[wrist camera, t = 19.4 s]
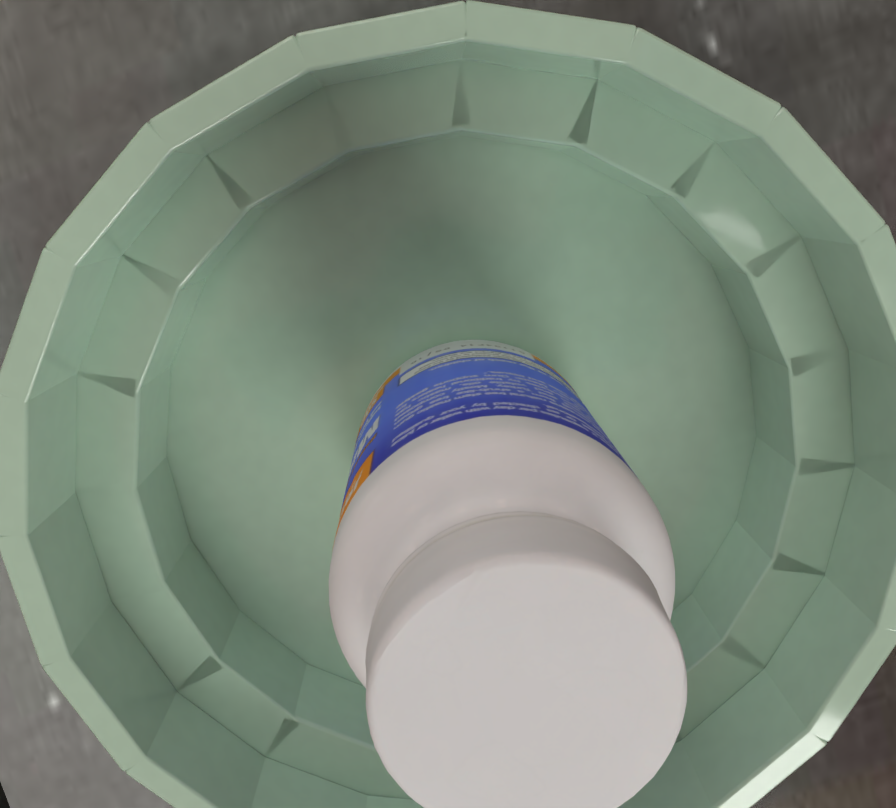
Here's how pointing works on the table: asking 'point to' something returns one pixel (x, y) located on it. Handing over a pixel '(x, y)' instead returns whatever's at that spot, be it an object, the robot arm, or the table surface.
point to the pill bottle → (504, 590)
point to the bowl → (422, 327)
